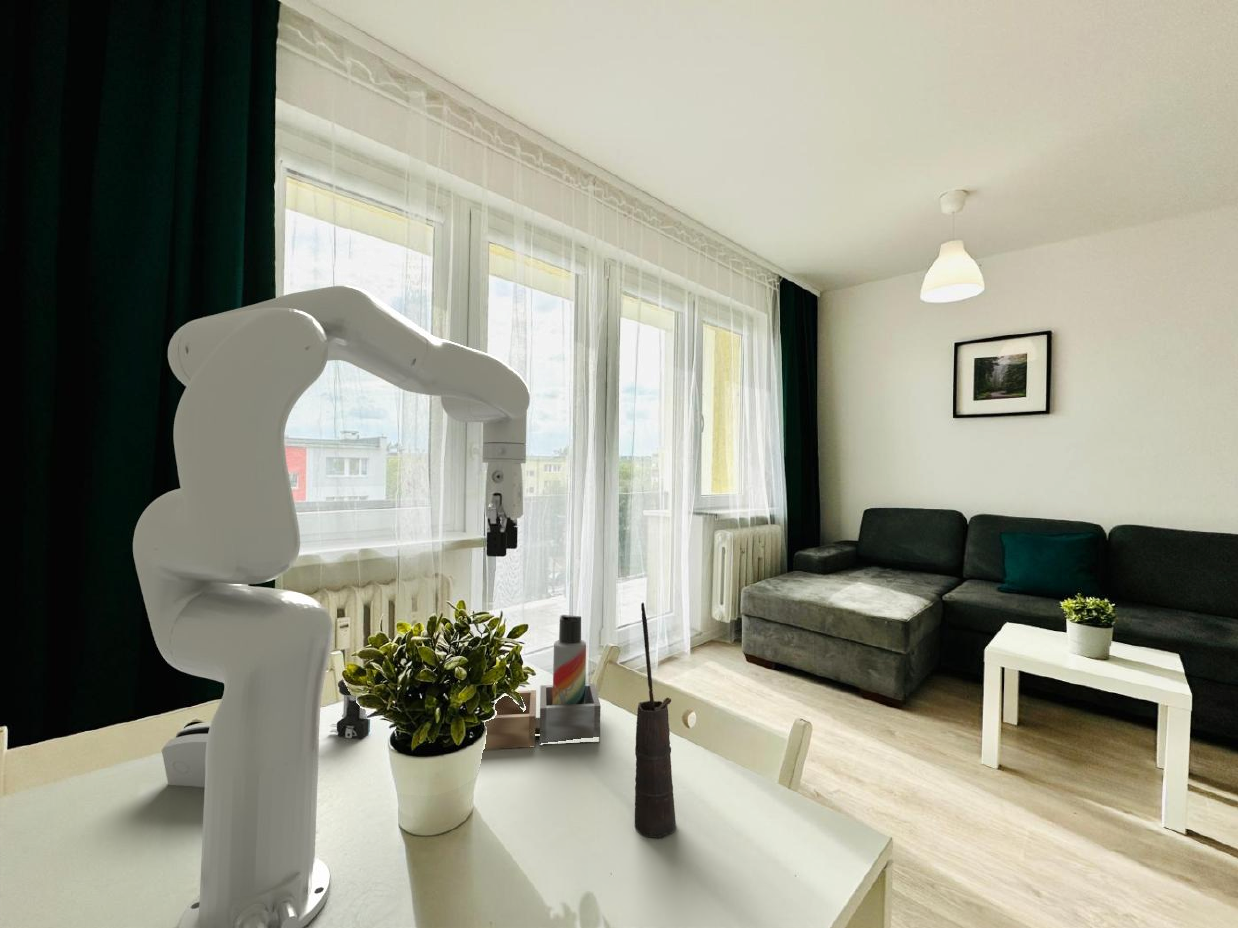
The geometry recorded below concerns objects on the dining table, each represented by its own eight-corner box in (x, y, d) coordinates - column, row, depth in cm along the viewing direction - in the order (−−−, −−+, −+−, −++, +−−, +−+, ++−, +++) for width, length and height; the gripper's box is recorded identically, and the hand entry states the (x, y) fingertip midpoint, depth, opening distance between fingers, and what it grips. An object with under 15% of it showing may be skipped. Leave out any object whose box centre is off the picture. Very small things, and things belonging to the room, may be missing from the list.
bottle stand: (593, 714, 99) (594, 682, 99) (600, 743, 88) (600, 706, 88) (474, 720, 96) (475, 686, 96) (465, 750, 85) (466, 712, 85)
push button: (321, 741, 87) (323, 679, 88) (340, 726, 92) (342, 668, 93) (359, 743, 87) (362, 681, 87) (377, 728, 92) (379, 670, 92)
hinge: (303, 771, 78) (289, 717, 75) (281, 801, 73) (265, 743, 70) (197, 765, 79) (180, 711, 76) (169, 793, 75) (149, 737, 72)
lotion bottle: (546, 734, 91) (548, 616, 91) (560, 720, 96) (562, 609, 97) (577, 739, 89) (579, 619, 90) (589, 725, 94) (591, 612, 95)
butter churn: (678, 794, 74) (680, 591, 75) (710, 838, 65) (712, 607, 66) (615, 805, 71) (618, 595, 72) (639, 853, 62) (643, 611, 63)
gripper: (516, 452, 85) (514, 559, 84) (533, 457, 102) (531, 546, 101) (469, 452, 84) (467, 559, 84) (494, 456, 102) (492, 545, 101)
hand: (502, 552), depth 93 cm, fingers open, 9 cm apart
